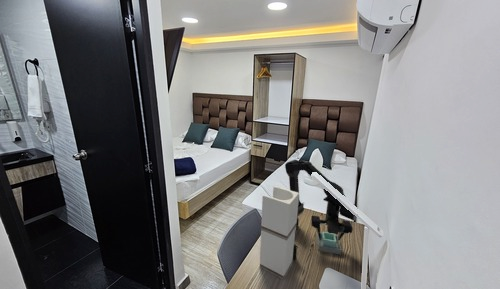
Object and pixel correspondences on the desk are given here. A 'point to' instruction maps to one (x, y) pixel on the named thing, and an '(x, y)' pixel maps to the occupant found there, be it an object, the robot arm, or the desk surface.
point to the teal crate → (328, 240)
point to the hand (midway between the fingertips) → (328, 238)
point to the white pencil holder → (278, 231)
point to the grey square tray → (328, 249)
